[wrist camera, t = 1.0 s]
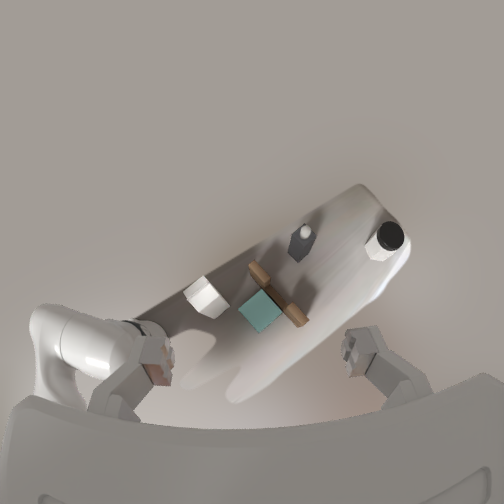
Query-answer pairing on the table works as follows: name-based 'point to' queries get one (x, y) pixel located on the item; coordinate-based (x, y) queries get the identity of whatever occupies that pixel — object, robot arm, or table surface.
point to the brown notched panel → (277, 295)
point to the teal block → (260, 311)
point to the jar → (385, 241)
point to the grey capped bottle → (301, 242)
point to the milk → (206, 298)
